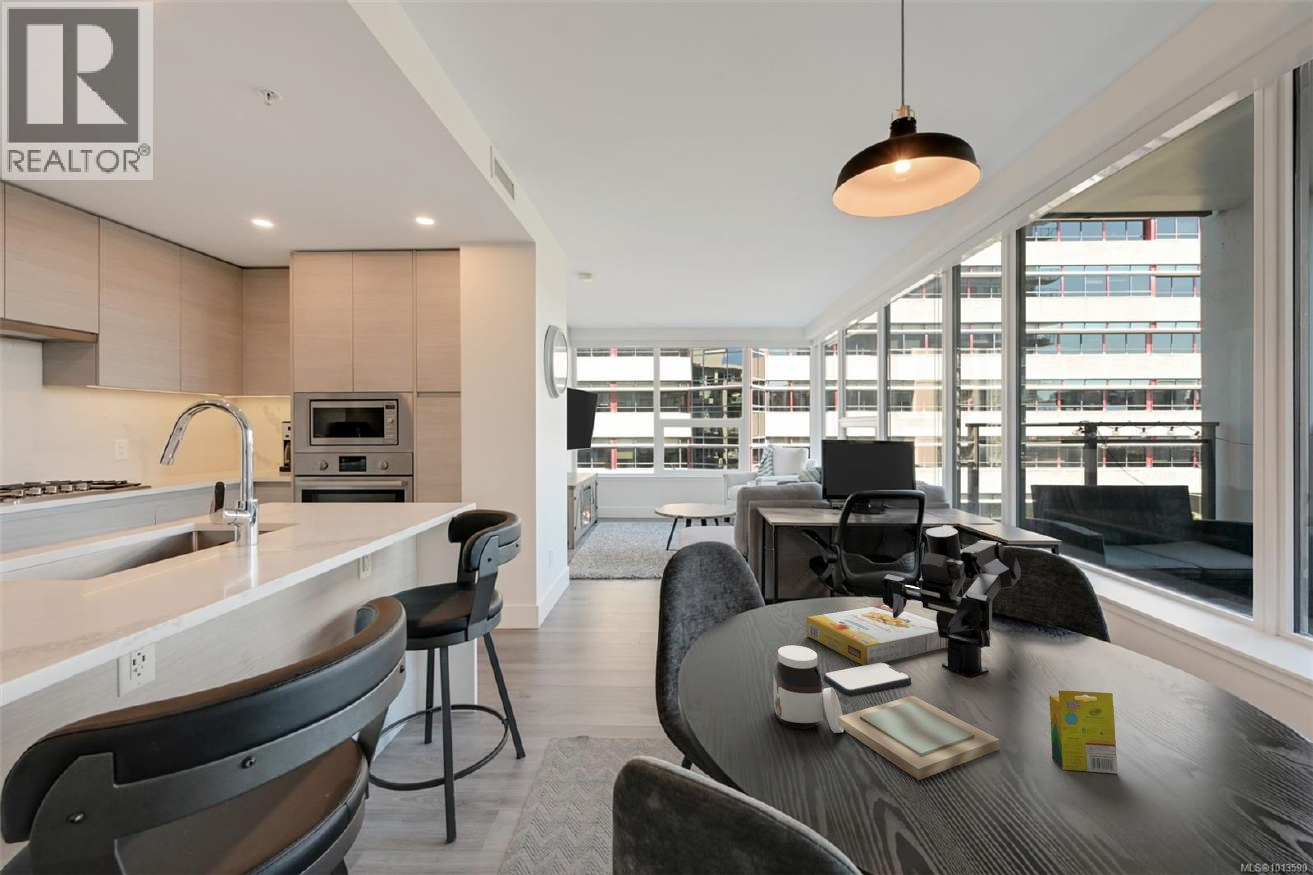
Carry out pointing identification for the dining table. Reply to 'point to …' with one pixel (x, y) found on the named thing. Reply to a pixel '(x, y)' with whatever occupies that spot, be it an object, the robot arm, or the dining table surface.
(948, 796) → the dining table surface
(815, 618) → the cereal box
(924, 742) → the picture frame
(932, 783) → the dining table surface
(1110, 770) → the crayon box
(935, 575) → the robot arm
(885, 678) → the smartphone
